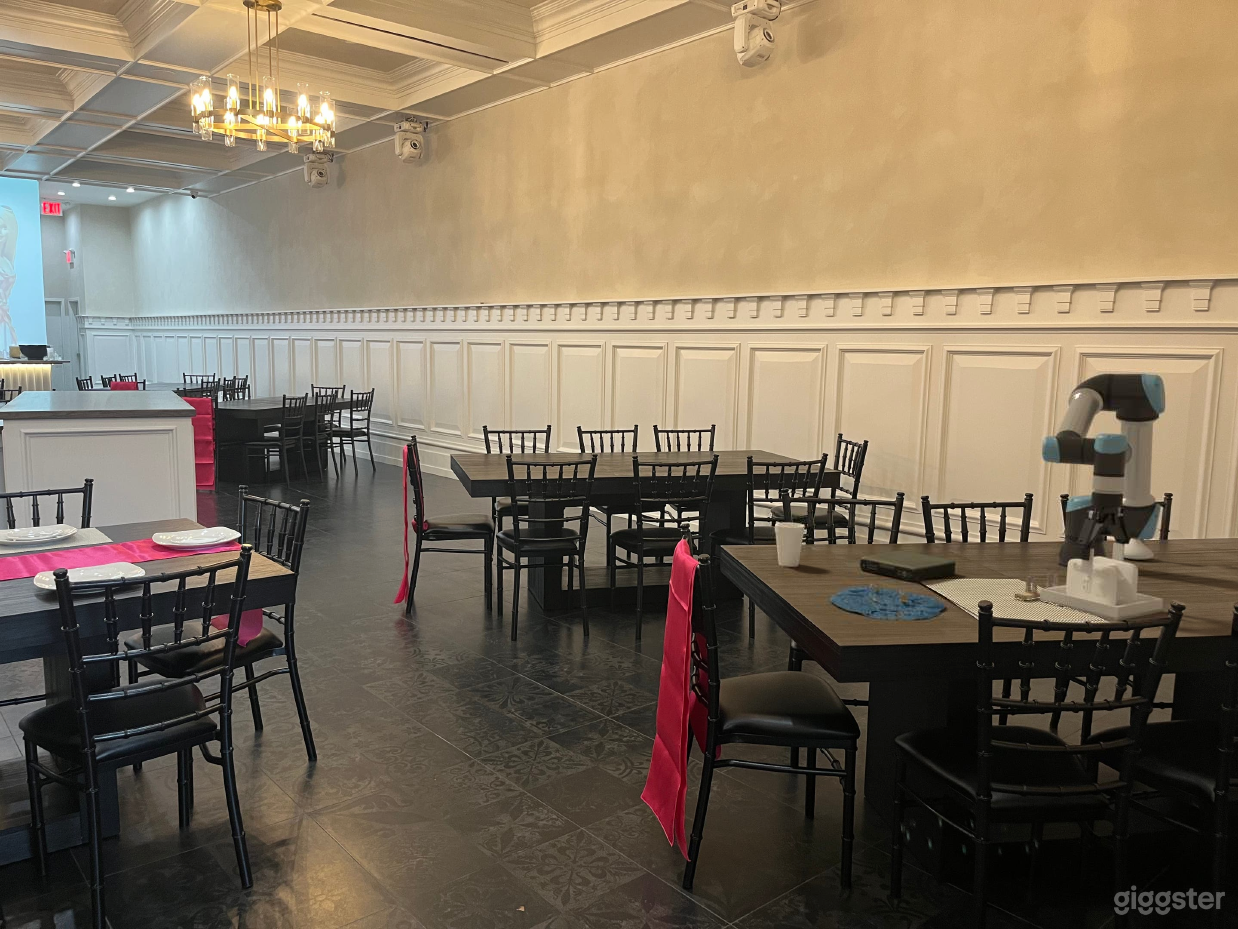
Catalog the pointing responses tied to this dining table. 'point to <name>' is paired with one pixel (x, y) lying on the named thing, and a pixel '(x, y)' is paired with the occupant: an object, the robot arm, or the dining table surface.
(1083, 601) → the holder tray
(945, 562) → the network switch
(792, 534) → the foam cup
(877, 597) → the blue wave plaque
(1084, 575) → the cable organizer
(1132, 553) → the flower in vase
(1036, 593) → the cable clip rail
